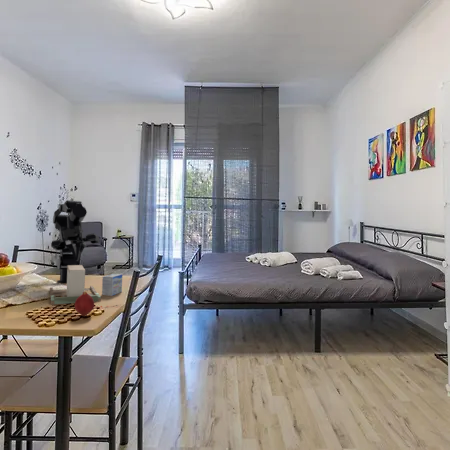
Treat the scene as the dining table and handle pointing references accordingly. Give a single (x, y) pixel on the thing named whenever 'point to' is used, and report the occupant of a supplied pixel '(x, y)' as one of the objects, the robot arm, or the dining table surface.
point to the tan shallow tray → (65, 299)
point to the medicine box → (112, 284)
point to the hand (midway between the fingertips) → (77, 260)
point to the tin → (75, 280)
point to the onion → (84, 304)
